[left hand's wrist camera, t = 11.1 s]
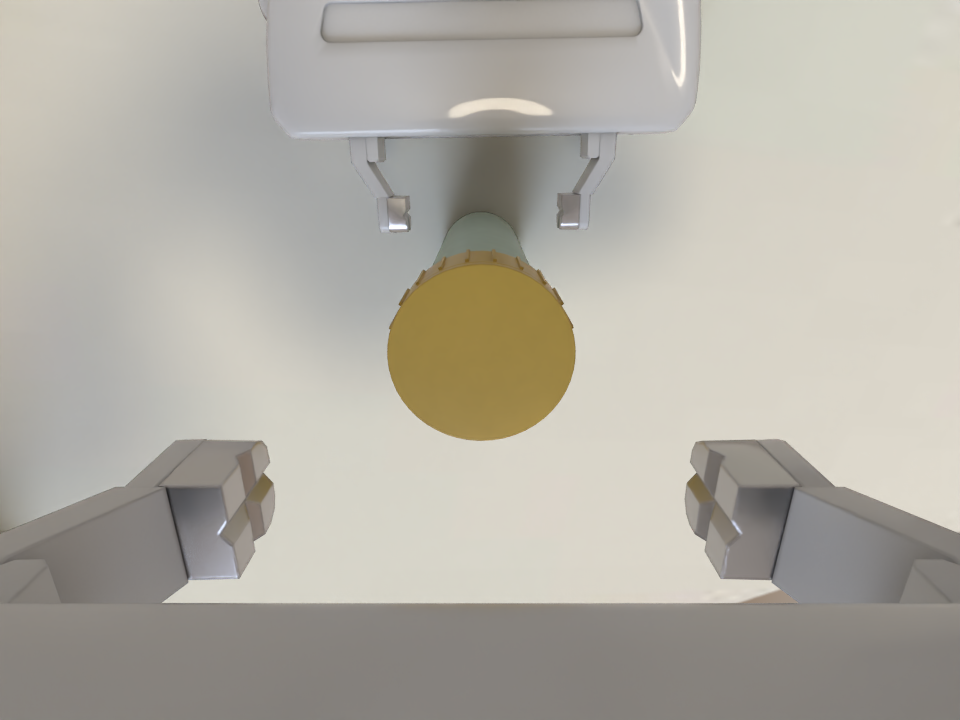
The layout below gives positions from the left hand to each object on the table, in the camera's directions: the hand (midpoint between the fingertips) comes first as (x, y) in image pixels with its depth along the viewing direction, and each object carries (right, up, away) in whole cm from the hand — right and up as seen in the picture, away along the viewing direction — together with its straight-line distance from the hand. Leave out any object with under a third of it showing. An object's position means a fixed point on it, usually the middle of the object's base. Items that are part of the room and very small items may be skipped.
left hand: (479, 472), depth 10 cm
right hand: (0, +9, +19) cm, 21 cm away
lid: (0, +2, +6) cm, 6 cm away
